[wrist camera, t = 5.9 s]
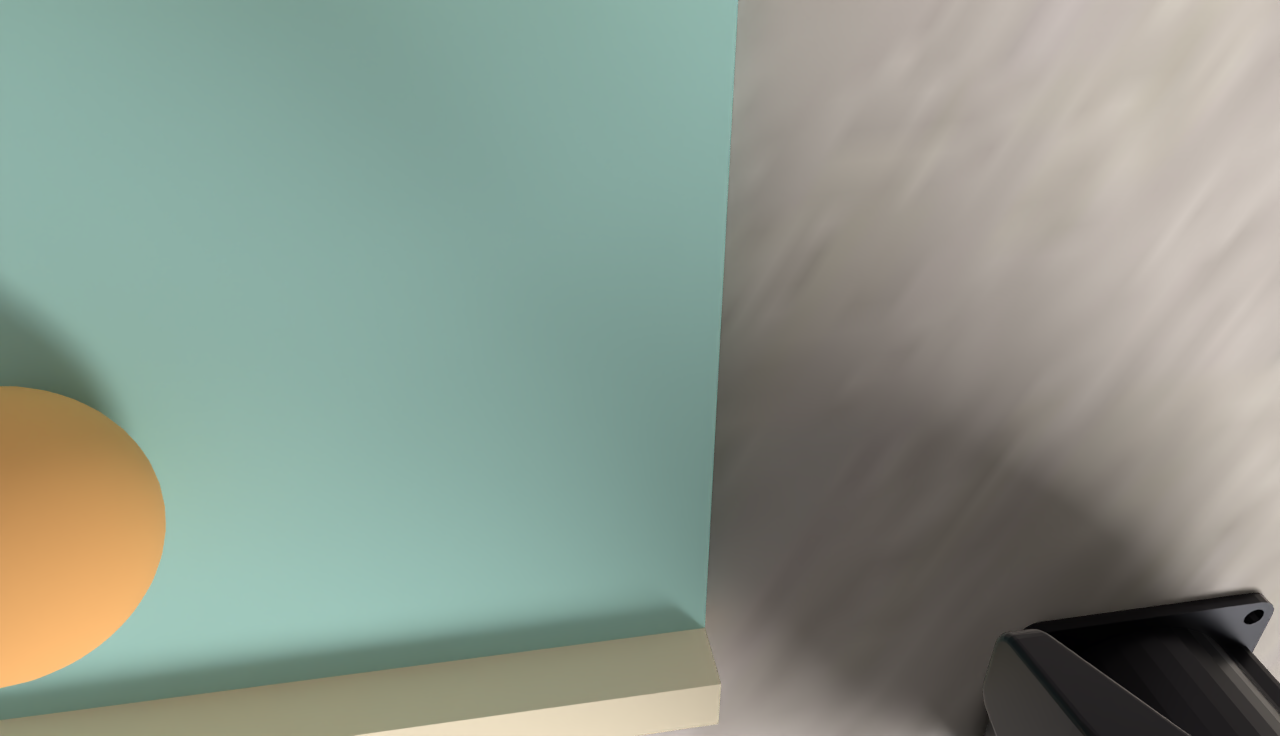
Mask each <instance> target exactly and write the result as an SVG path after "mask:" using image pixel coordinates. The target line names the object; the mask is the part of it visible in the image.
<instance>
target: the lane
mask: <svg viewBox="0 0 1280 736" xmlns="http://www.w3.org/2000/svg"><path fill="white" fill-rule="evenodd" d="M737 12H738V0H0V386H18V387H26V388H33V389H39V390H45V391H49V392H53V393H57V394H60V395H63V396H66V397H69V398H72V399H75V400H77V401H79V402H81V403H84V404H86V405H88V406H90V407H92V408H94V409H95V410H97V411H99V412H101V413H102V414H104V415H105V416H107V417H108V418H109V419H111V420H112V421H113V422H115V423H116V424H117V425H119V426H120V427H121V428H123V429H124V430H125V431H126V432H127V433H128V435H129V436H130V437H131V438H132V439H133V440H134V441H135V442H136V443H137V444H138V446H139V447H140V448H141V449H142V451H143V452H144V454H145V455H146V457H147V458H148V460H149V462H150V464H151V466H152V468H153V470H154V472H155V474H156V476H157V479H158V481H159V483H160V487H161V492H162V496H163V500H164V505H165V518H166V532H165V539H164V546H163V553H162V556H161V559H160V563H159V566H158V568H157V571H156V574H155V576H154V579H153V581H152V583H151V585H150V587H149V589H148V590H147V592H146V594H145V595H144V597H143V599H142V600H141V602H140V603H139V605H138V606H137V608H136V609H135V611H134V612H133V613H132V614H131V616H130V617H129V618H128V619H127V620H126V621H125V623H124V624H123V625H122V626H121V627H120V628H119V629H118V630H117V631H116V632H115V633H114V634H112V635H111V636H110V637H109V638H108V639H107V640H106V641H104V642H103V643H102V644H101V645H99V646H98V647H97V648H95V649H94V650H93V651H91V652H90V653H88V654H87V655H85V656H84V657H82V658H81V659H79V660H77V661H75V662H74V663H72V664H70V665H68V666H66V667H64V668H62V669H60V670H57V671H55V672H53V673H51V674H48V675H46V676H43V677H41V678H38V679H35V680H32V681H29V682H25V683H21V684H17V685H12V686H8V687H3V688H0V736H640V735H646V734H653V733H660V732H667V731H674V730H681V729H688V728H694V727H701V726H708V725H715V724H718V721H719V707H720V692H721V682H720V679H719V675H718V672H717V668H716V665H715V661H714V658H713V655H712V651H711V648H710V644H709V641H708V637H707V634H706V630H705V614H706V595H707V576H708V558H709V539H710V520H711V501H712V482H713V464H714V445H715V426H716V407H717V388H718V370H719V351H720V332H721V313H722V294H723V276H724V257H725V238H726V219H727V200H728V182H729V163H730V144H731V125H732V106H733V88H734V69H735V50H736V31H737Z"/></svg>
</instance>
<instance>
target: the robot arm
mask: <svg viewBox="0 0 1280 736" xmlns="http://www.w3.org/2000/svg"><path fill="white" fill-rule="evenodd" d="M1273 611H1274V608H1273V605H1272V604H1271V603H1270V602H1269V601H1268V600H1267V599H1266V598H1265V597H1264V596H1263V595H1261V594H1260V593H1248V594H1241V595H1233V596H1226V597H1219V598H1212V599H1204V600H1197V601H1190V602H1182V603H1175V604H1168V605H1161V606H1153V607H1146V608H1139V609H1131V610H1124V611H1117V612H1109V613H1102V614H1095V615H1088V616H1080V617H1073V618H1066V619H1058V620H1051V621H1044V622H1039V623H1035V624H1032V625H1030V626H1029V627H1027V628H1025V629H1024V630H1021V631H1014V632H1007V633H1003V634H1002V635H1001V636H1000V637H999V638H998V639H997V641H996V643H995V647H994V650H993V653H992V657H991V660H990V663H989V666H988V670H987V673H986V676H985V679H984V684H983V698H984V703H985V707H986V710H987V713H988V715H989V721H988V725H987V728H986V731H985V734H984V736H1280V683H1279V682H1278V681H1277V680H1276V679H1275V677H1274V676H1273V675H1272V674H1271V673H1270V672H1269V671H1268V670H1267V669H1266V668H1265V666H1264V665H1263V664H1262V663H1261V662H1260V661H1259V660H1258V659H1257V658H1256V656H1255V655H1254V654H1253V653H1252V652H1253V650H1254V648H1255V646H1256V645H1257V643H1258V641H1259V639H1260V637H1261V635H1262V633H1263V631H1264V629H1265V628H1266V626H1267V624H1268V622H1269V620H1270V618H1271V616H1272V614H1273Z"/></svg>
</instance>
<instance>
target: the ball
mask: <svg viewBox="0 0 1280 736" xmlns="http://www.w3.org/2000/svg"><path fill="white" fill-rule="evenodd" d="M165 532H166V518H165V505H164V500H163V496H162V492H161V487H160V483H159V481H158V479H157V476H156V474H155V472H154V470H153V468H152V466H151V464H150V462H149V460H148V458H147V457H146V455H145V454H144V452H143V451H142V449H141V448H140V447H139V446H138V444H137V443H136V442H135V441H134V440H133V439H132V438H131V437H130V436H129V435H128V433H127V432H126V431H125V430H124V429H123V428H121V427H120V426H119V425H117V424H116V423H115V422H113V421H112V420H111V419H109V418H108V417H107V416H105V415H104V414H102V413H101V412H99V411H97V410H95V409H94V408H92V407H90V406H88V405H86V404H84V403H81V402H79V401H77V400H75V399H72V398H69V397H66V396H63V395H60V394H57V393H53V392H49V391H45V390H39V389H33V388H26V387H18V386H0V688H3V687H8V686H12V685H17V684H21V683H25V682H29V681H32V680H35V679H38V678H41V677H43V676H46V675H48V674H51V673H53V672H55V671H57V670H60V669H62V668H64V667H66V666H68V665H70V664H72V663H74V662H75V661H77V660H79V659H81V658H82V657H84V656H85V655H87V654H88V653H90V652H91V651H93V650H94V649H95V648H97V647H98V646H99V645H101V644H102V643H103V642H104V641H106V640H107V639H108V638H109V637H110V636H111V635H112V634H114V633H115V632H116V631H117V630H118V629H119V628H120V627H121V626H122V625H123V624H124V623H125V621H126V620H127V619H128V618H129V617H130V616H131V614H132V613H133V612H134V611H135V609H136V608H137V606H138V605H139V603H140V602H141V600H142V599H143V597H144V595H145V594H146V592H147V590H148V589H149V587H150V585H151V583H152V581H153V579H154V576H155V574H156V571H157V568H158V566H159V563H160V559H161V556H162V553H163V546H164V539H165Z"/></svg>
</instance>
